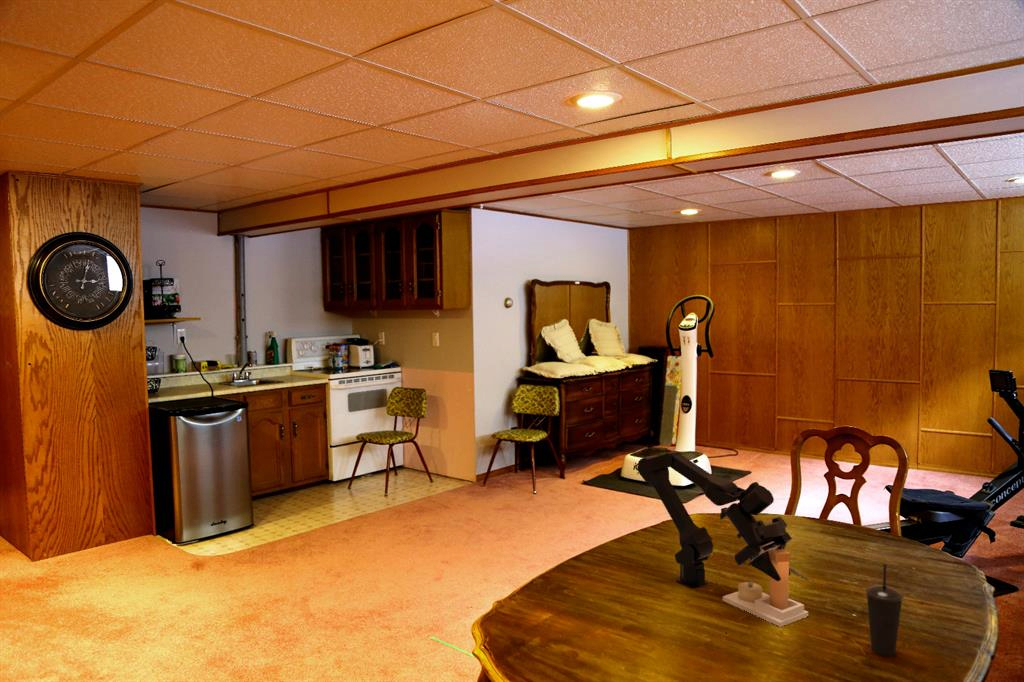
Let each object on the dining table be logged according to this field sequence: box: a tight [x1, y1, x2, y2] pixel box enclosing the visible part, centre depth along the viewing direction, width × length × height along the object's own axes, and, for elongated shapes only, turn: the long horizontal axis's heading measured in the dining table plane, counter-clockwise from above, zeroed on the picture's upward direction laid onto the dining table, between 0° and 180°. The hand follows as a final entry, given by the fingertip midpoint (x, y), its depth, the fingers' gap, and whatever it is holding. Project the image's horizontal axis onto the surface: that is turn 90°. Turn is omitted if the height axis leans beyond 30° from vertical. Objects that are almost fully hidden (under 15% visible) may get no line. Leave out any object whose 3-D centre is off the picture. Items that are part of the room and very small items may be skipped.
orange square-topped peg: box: [769, 549, 791, 609], centre depth 177 cm, size 4×4×14 cm
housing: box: [722, 581, 809, 628], centre depth 181 cm, size 18×11×5 cm, turn 32°
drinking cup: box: [865, 564, 904, 657], centre depth 159 cm, size 8×8×20 cm
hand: (784, 578), depth 176 cm, fingers closed on orange square-topped peg, 4 cm apart
